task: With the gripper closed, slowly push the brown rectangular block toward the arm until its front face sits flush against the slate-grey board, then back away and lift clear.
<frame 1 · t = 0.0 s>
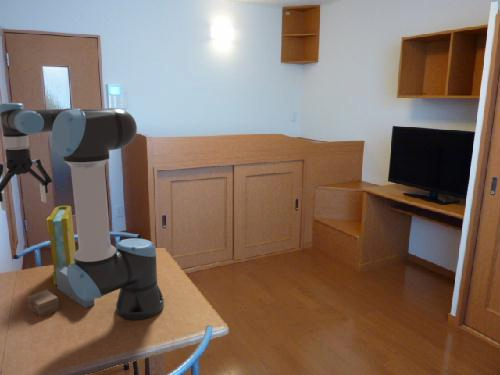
hand: (24, 205, 147), 28 cm above the table, tool pointing down, fingers open, 13 cm apart
slate board: (75, 296, 139), on the table
brown rectangular block: (44, 309, 132), on the table
yellow rounded trough: (67, 274, 156), on the table
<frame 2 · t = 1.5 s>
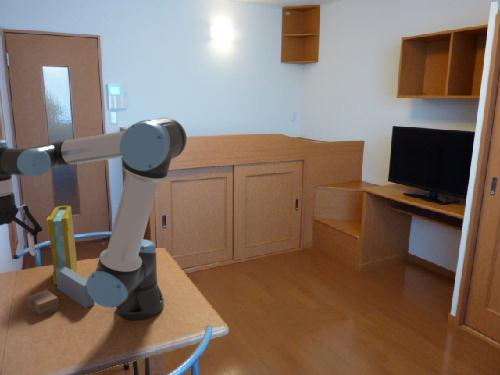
hand: (9, 261, 122), 19 cm above the table, tool pointing down, fingers open, 13 cm apart
nothing on the table moved.
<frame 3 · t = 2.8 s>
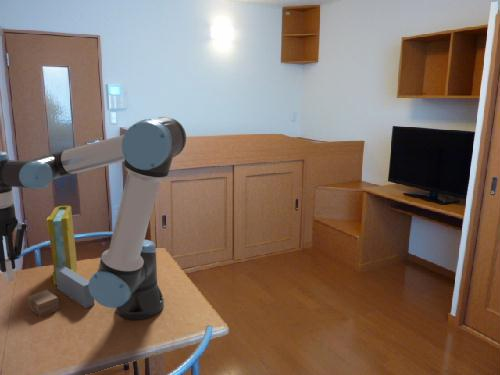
hand: (9, 279, 122), 14 cm above the table, tool pointing down, fingers closed
nothing on the table moved.
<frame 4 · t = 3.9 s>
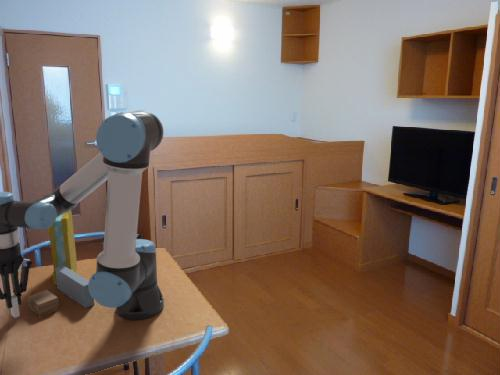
hand: (15, 315, 125), 2 cm above the table, tool pointing down, fingers closed
nothing on the table moved.
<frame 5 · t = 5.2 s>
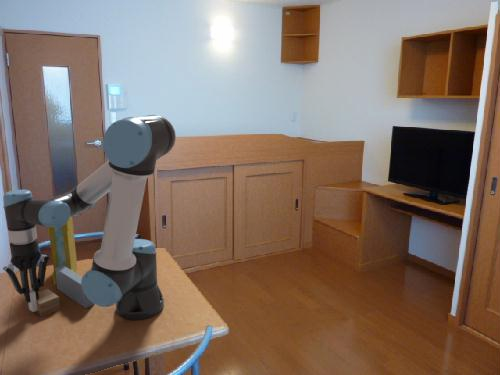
hand: (33, 309, 129), 1 cm above the table, tool pointing down, fingers closed
brown rectangular block: (45, 308, 132), on the table, touching gripper
everything else where it was.
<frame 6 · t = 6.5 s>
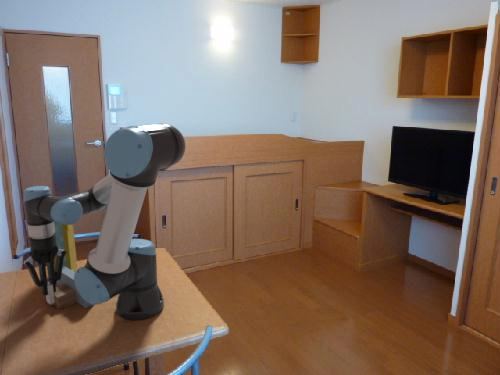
hand: (50, 302, 133), 1 cm above the table, tool pointing down, fingers closed
brown rectangular block: (62, 302, 136), on the table
everything else where it was.
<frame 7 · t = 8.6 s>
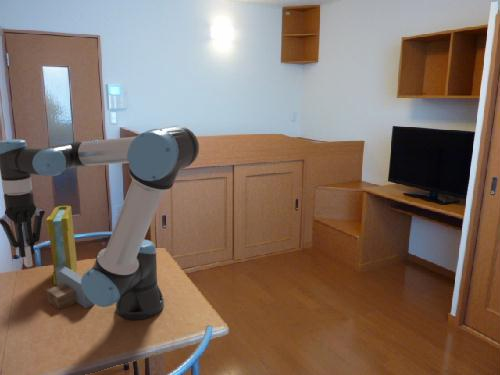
hand: (28, 265, 125), 16 cm above the table, tool pointing down, fingers closed
nothing on the table moved.
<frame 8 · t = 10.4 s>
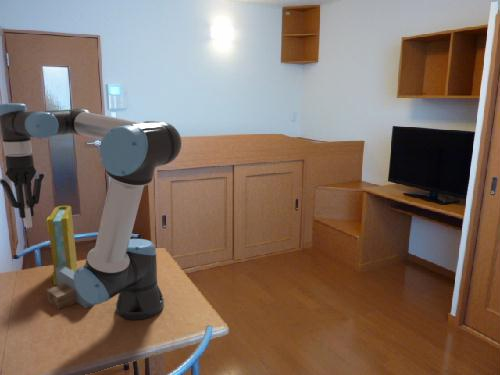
hand: (28, 226, 130), 26 cm above the table, tool pointing down, fingers closed
nothing on the table moved.
at the end: brown rectangular block 0.2 cm from the target spot on the table beside the slate board, on the table; brown rectangular block tilted 0° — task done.
